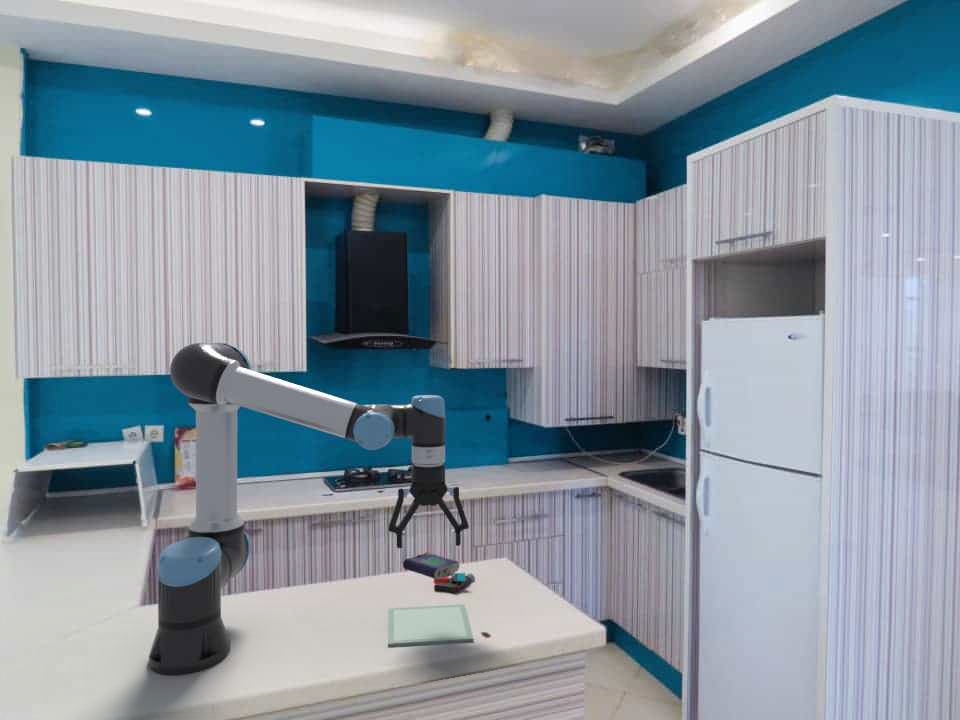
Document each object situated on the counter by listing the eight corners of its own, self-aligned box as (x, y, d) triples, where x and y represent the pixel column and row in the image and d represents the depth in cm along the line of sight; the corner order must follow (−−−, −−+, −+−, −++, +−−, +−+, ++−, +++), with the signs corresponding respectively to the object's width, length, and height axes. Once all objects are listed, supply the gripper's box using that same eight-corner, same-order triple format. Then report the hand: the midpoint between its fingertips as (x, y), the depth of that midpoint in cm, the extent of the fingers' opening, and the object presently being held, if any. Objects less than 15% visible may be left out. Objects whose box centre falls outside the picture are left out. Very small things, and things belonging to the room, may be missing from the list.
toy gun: (478, 582, 169) (478, 564, 169) (457, 598, 159) (456, 579, 159) (446, 576, 174) (446, 558, 174) (423, 591, 163) (423, 573, 163)
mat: (387, 646, 132) (387, 643, 132) (388, 610, 150) (388, 608, 150) (473, 641, 135) (473, 638, 135) (464, 606, 153) (464, 604, 153)
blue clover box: (430, 550, 147) (466, 562, 140) (429, 563, 147) (465, 575, 140) (403, 559, 139) (440, 571, 133) (401, 572, 139) (439, 585, 133)
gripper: (376, 468, 137) (376, 568, 138) (481, 465, 140) (481, 564, 141) (377, 462, 145) (377, 557, 145) (477, 459, 148) (477, 553, 148)
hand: (428, 560), depth 143 cm, fingers closed on blue clover box, 11 cm apart
